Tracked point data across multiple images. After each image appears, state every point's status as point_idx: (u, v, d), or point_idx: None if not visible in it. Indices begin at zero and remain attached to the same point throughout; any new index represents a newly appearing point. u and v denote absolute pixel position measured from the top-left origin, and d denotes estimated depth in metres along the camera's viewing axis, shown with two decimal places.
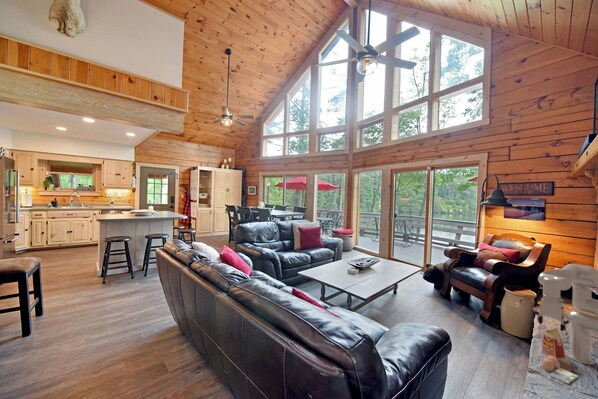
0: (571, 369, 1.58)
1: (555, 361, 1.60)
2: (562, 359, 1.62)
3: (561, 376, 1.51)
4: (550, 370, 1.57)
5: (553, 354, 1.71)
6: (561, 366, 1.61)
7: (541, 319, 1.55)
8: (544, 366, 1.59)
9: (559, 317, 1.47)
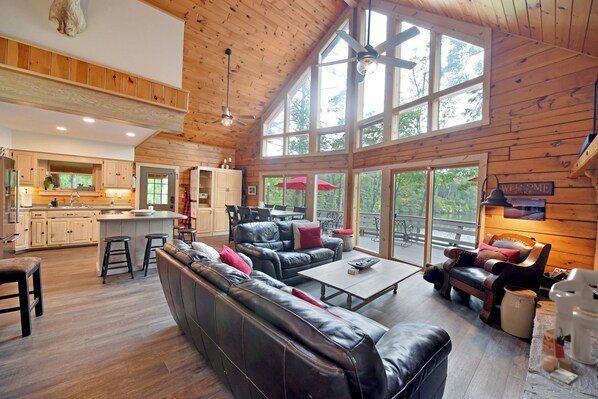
0: (571, 369, 1.58)
1: (555, 361, 1.60)
2: (562, 359, 1.62)
3: (561, 376, 1.51)
4: (550, 370, 1.57)
5: (553, 354, 1.71)
6: (561, 366, 1.61)
7: None
8: (544, 366, 1.59)
9: (571, 330, 1.53)
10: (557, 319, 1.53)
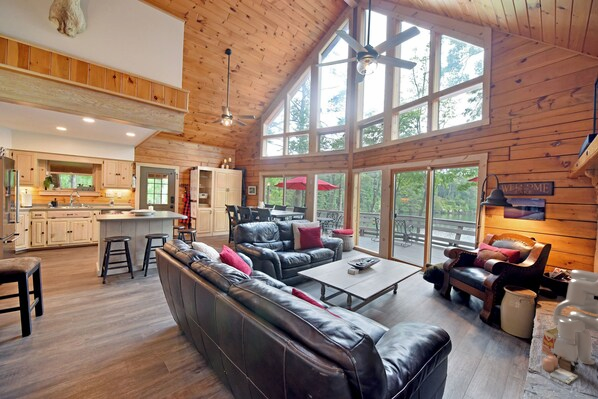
0: None
1: (555, 361, 1.60)
2: (562, 359, 1.62)
3: (561, 376, 1.51)
4: (550, 370, 1.57)
5: (553, 354, 1.71)
6: (561, 366, 1.61)
7: None
8: (544, 366, 1.59)
9: None
10: (575, 347, 1.56)
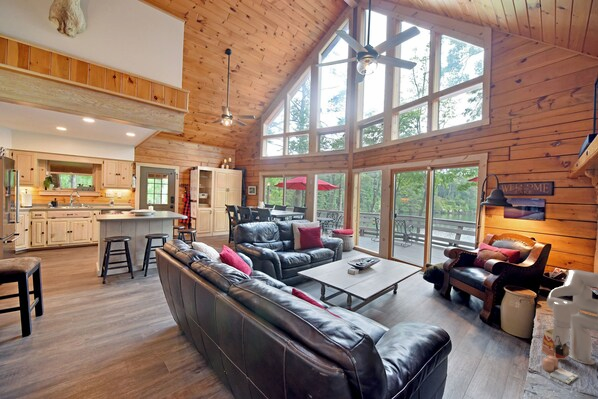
0: None
1: (555, 361, 1.60)
2: None
3: (561, 376, 1.51)
4: (550, 370, 1.57)
5: (553, 354, 1.71)
6: None
7: None
8: (544, 366, 1.59)
9: None
10: (555, 327, 1.51)
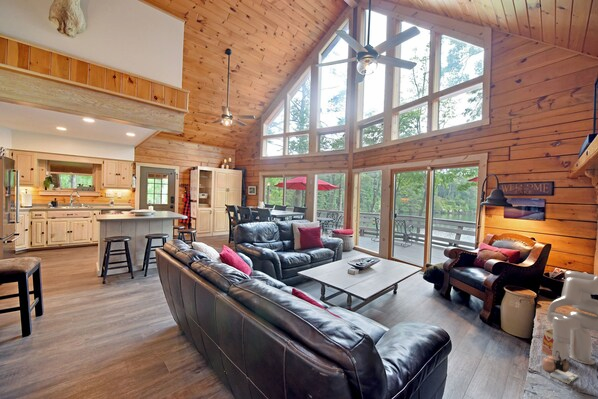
0: None
1: None
2: None
3: (561, 376, 1.51)
4: (550, 370, 1.57)
5: None
6: None
7: None
8: (544, 366, 1.59)
9: (569, 353, 1.52)
10: (554, 342, 1.51)
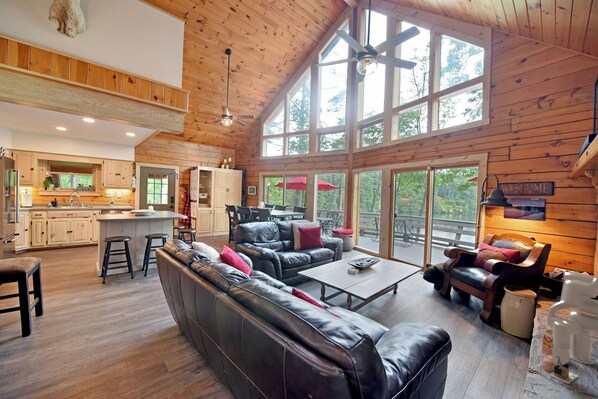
0: (558, 374, 1.51)
1: None
2: (561, 366, 1.53)
3: None
4: (550, 370, 1.57)
5: None
6: None
7: None
8: (544, 366, 1.59)
9: None
10: (554, 347, 1.51)
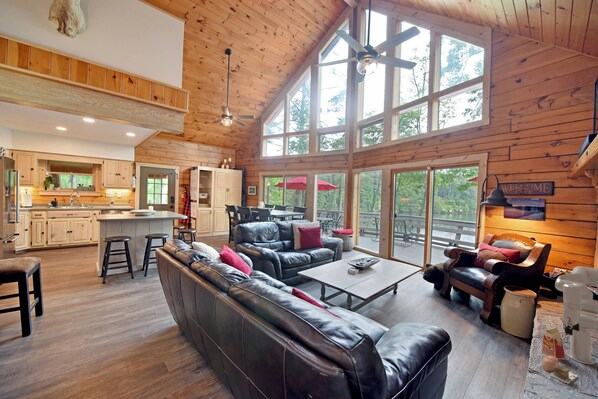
0: (558, 374, 1.51)
1: (555, 361, 1.60)
2: (561, 366, 1.53)
3: None
4: (550, 370, 1.57)
5: (553, 354, 1.71)
6: None
7: None
8: (544, 366, 1.59)
9: (579, 319, 1.54)
10: (565, 309, 1.54)
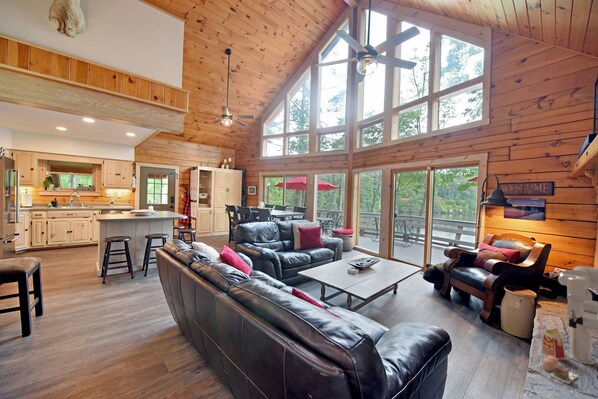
0: (558, 374, 1.51)
1: (555, 361, 1.60)
2: (561, 366, 1.53)
3: None
4: (550, 370, 1.57)
5: (553, 354, 1.71)
6: None
7: None
8: (544, 366, 1.59)
9: (583, 313, 1.55)
10: (569, 302, 1.55)
